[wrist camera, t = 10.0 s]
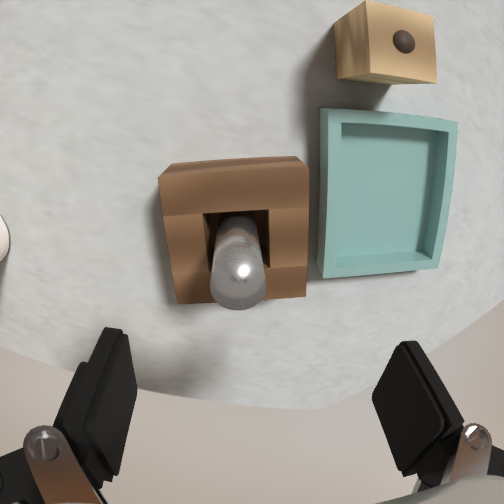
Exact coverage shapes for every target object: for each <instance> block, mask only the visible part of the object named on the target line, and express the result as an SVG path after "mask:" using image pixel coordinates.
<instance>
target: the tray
mask: <svg viewBox="0 0 504 504" xmlns="http://www.w3.org/2000/svg"><path fill="white" fill-rule="evenodd" d="M457 128H458V122H455V121H450V120H444V119H438V118H431V117H424V116H417V115H409V114H400V113H391V112H380V111H368V110H354V109H334V108H320V189H319V224H318V247H317V267H318V269H319V271H320V273H321V275H322V278H323V279H324V278H337V277H349V276H360V275H372V274H383V273H393V272H404V271H414V270H424V269H433V268H438V265H439V261H440V256H441V252H442V247H443V242H444V237H445V231H446V226H447V220H448V214H449V208H450V201H451V194H452V186H453V178H454V169H455V158H456V145H457Z"/></svg>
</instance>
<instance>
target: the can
mask: <svg viewBox="0 0 504 504" xmlns="http://www.w3.org/2000/svg"><path fill="white" fill-rule="evenodd" d="M8 249H9V232H8V228H7V225H6V223H5V221H4V219H3V218H2V216H1V215H0V261H1V260H2V259H3V258H4V257H5V256H6V254H7V252H8Z"/></svg>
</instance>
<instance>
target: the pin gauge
mask: <svg viewBox="0 0 504 504" xmlns="http://www.w3.org/2000/svg"><path fill="white" fill-rule="evenodd" d="M210 291H211V294H212V296H213V298H214V299H215V301H216V302H217V303H218V304H220V305H221V306H223V307H225V308H227V309H231V310H245V309H249V308H251V307H253V306H255V305H256V304H258V303H259V302H260V301H261V300H262V298H263V297H264V295H265V292H266V280H265V274H264V268H263V262H262V256H261V250H260V243H259V237H258V231H257V225H256V219H255V215H254V213H253V211H252V210H249V211H232V212H221V213H220V216H219V221H218V228H217V235H216V243H215V250H214V258H213V266H212V274H211V282H210Z"/></svg>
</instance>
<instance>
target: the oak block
mask: <svg viewBox="0 0 504 504" xmlns="http://www.w3.org/2000/svg"><path fill="white" fill-rule="evenodd" d="M334 34H335V52H336V76H337V79H341V80H354V81H364V82H374V83H382V84H390V85H396V84H437V73H436V52H435V38H434V27H433V17H432V16H430V15H426V14H423V13H419V12H416V11H412V10H408V9H404V8H400V7H395V6H391V5H386V4H382V3H377V2H371V1H364V2H363V3H361V4H360V5H358V6H357V7H355V8H354V9H353V10H351V11H350V12H348V13H347V14H346V15H344V16H343V17H342V18H340V19H339V20H337V21H336V22H335V23H334Z"/></svg>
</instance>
